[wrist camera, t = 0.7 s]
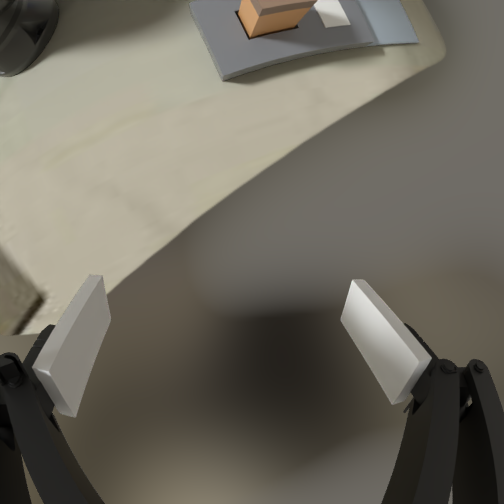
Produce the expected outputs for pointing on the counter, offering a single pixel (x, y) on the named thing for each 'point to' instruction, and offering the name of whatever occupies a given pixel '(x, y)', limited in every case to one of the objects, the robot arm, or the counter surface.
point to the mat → (387, 22)
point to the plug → (271, 15)
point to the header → (277, 35)
